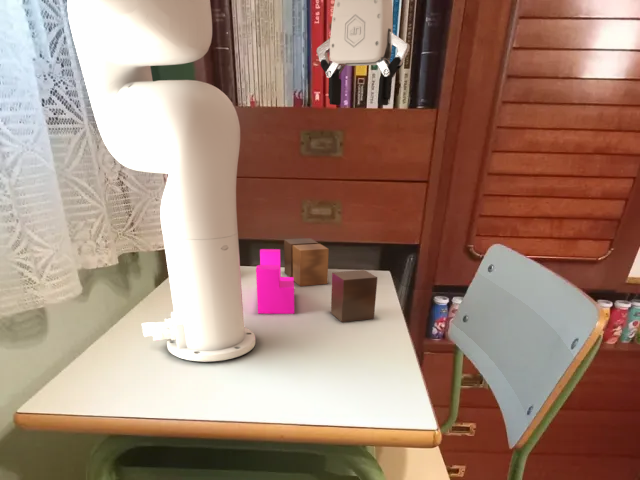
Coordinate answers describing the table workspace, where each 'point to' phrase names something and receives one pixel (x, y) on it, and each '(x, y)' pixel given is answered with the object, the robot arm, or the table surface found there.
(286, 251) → the line block
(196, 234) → the robot arm
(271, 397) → the table surface
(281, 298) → the toy block
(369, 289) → the line block
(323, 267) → the block
